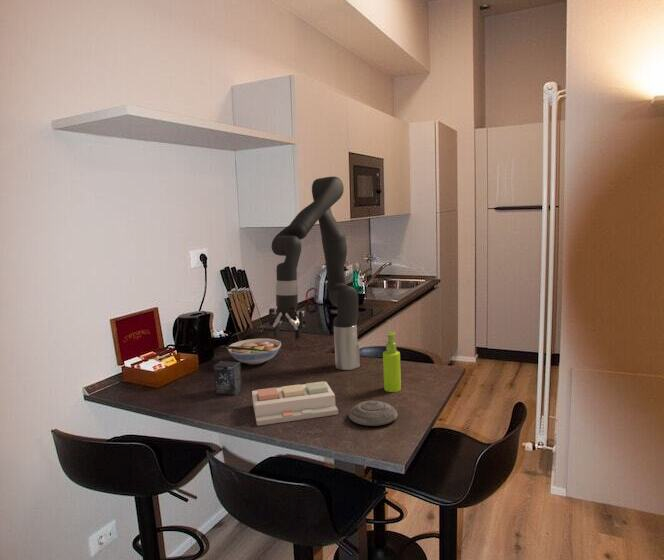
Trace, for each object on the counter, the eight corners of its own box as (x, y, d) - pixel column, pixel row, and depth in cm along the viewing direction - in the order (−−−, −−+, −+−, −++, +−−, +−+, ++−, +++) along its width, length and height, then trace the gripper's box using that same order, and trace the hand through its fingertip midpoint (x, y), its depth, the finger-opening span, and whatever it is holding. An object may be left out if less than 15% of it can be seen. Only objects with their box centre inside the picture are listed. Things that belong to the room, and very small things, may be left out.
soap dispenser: (403, 385, 178) (401, 330, 175) (399, 392, 171) (397, 336, 168) (386, 384, 180) (385, 330, 177) (382, 391, 173) (380, 335, 170)
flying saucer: (372, 405, 163) (371, 388, 162) (408, 418, 151) (407, 401, 150) (338, 419, 153) (337, 402, 152) (373, 434, 142) (372, 416, 141)
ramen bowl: (294, 356, 218) (293, 338, 217) (266, 373, 198) (265, 353, 196) (246, 352, 228) (244, 335, 227) (215, 368, 208) (213, 348, 207)
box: (215, 394, 178) (213, 365, 177) (223, 388, 183) (221, 360, 182) (235, 395, 176) (232, 366, 174) (242, 389, 181) (240, 361, 180)
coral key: (276, 396, 164) (275, 387, 164) (278, 402, 158) (278, 393, 158) (258, 398, 163) (257, 389, 162) (259, 405, 157) (258, 396, 156)
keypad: (326, 395, 172) (326, 381, 171) (338, 414, 156) (337, 399, 155) (253, 405, 166) (252, 390, 166) (257, 425, 150) (255, 410, 150)
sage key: (324, 389, 167) (323, 381, 167) (327, 396, 162) (327, 387, 161) (306, 392, 166) (305, 383, 166) (309, 398, 160) (309, 389, 160)
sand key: (300, 392, 166) (299, 384, 165) (303, 399, 160) (303, 390, 160) (282, 395, 164) (281, 386, 164) (284, 402, 159) (284, 392, 158)
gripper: (309, 293, 174) (310, 338, 176) (276, 290, 181) (277, 334, 183) (298, 295, 167) (298, 343, 169) (263, 292, 174) (264, 338, 176)
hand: (287, 338), depth 176 cm, fingers open, 8 cm apart
